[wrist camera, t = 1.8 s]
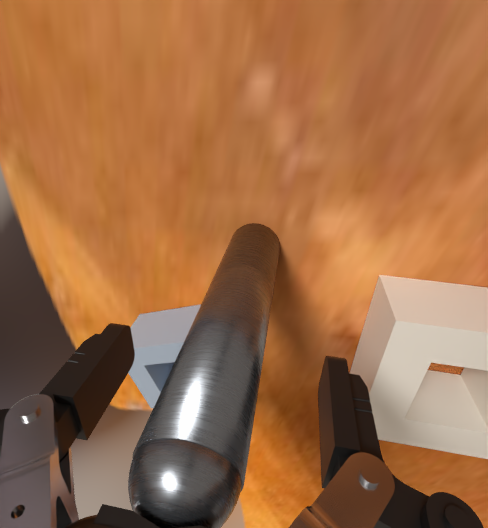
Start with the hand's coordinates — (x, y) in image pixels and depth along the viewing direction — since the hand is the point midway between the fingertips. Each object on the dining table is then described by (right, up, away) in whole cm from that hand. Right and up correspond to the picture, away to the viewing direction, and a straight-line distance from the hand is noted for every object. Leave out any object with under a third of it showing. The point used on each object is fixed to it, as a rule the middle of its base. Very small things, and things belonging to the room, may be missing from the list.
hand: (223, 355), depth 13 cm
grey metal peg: (+2, +5, +8) cm, 9 cm away
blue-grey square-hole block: (-4, -2, +13) cm, 14 cm away
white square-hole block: (+14, -2, +9) cm, 17 cm away
